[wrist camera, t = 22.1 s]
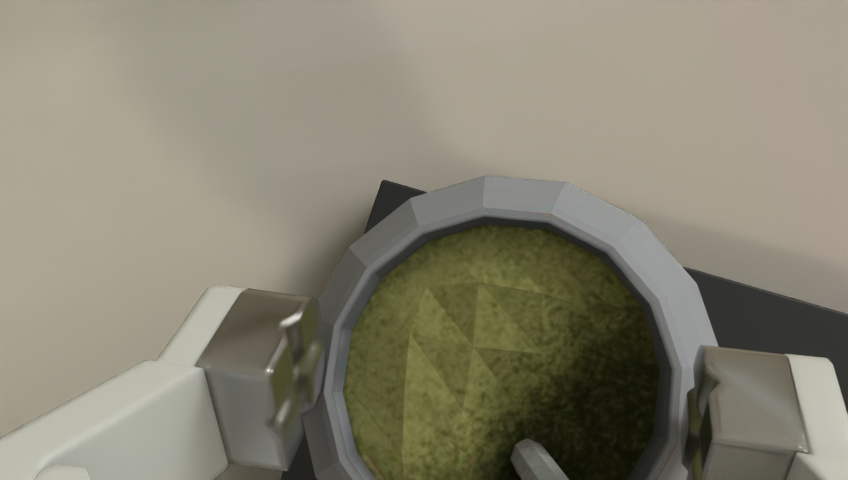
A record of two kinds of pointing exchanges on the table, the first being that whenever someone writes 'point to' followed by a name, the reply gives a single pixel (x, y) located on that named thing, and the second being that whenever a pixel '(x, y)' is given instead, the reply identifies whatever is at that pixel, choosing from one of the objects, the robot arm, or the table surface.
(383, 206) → the scale
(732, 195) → the table surface
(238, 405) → the robot arm
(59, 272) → the table surface
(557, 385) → the mate gourd
